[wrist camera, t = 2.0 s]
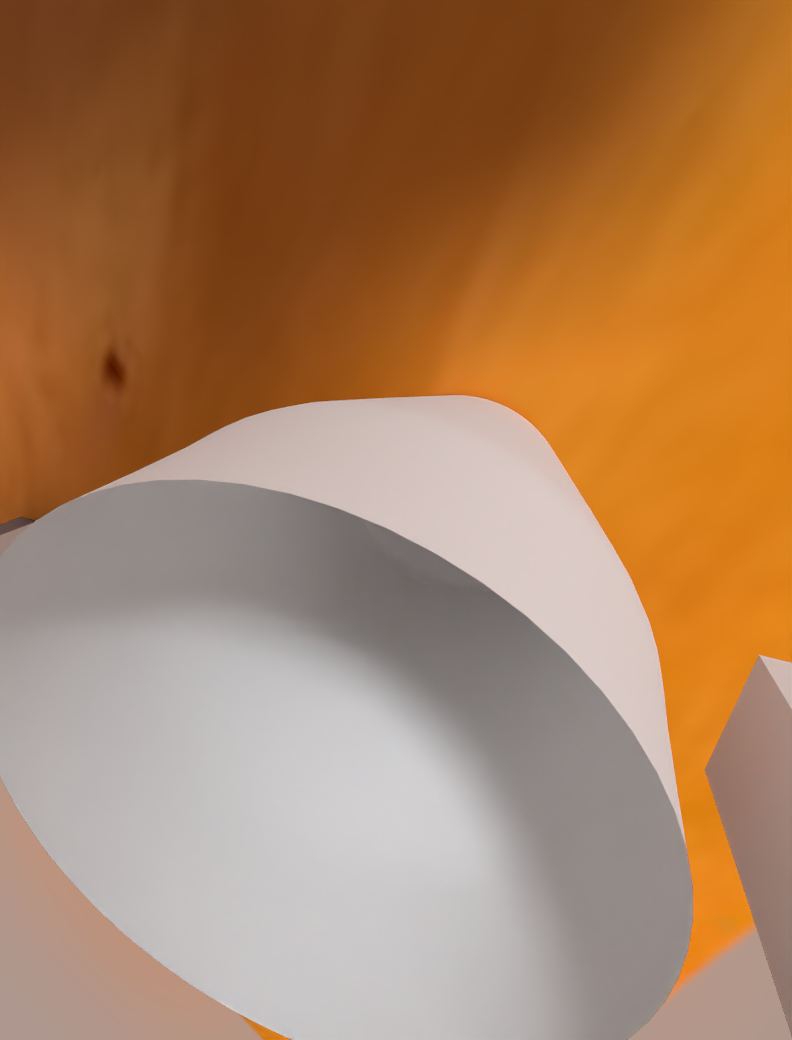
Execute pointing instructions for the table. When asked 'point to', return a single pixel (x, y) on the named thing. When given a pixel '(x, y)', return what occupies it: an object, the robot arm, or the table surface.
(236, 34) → the table surface
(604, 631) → the cup
